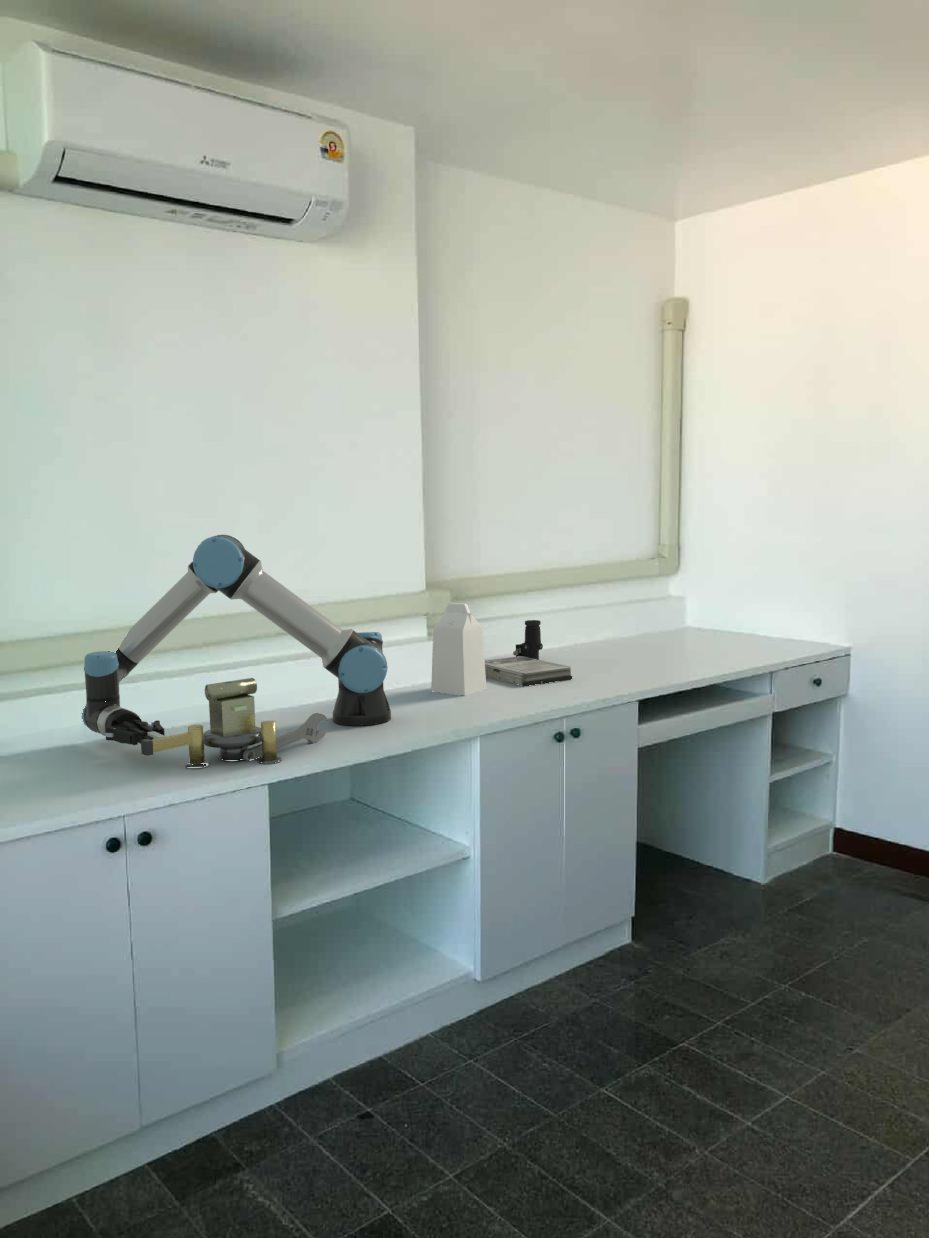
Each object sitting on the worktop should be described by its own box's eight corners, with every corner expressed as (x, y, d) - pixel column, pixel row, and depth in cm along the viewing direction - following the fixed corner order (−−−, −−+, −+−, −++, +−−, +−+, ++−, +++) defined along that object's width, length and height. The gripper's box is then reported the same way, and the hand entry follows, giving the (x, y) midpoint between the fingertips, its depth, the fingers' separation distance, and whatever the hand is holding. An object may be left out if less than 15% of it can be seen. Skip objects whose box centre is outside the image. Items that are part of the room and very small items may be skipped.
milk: (486, 689, 302) (485, 602, 298) (464, 695, 292) (463, 606, 289) (453, 685, 308) (451, 600, 305) (431, 691, 299) (429, 604, 296)
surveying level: (239, 744, 240) (236, 671, 238) (286, 760, 225) (282, 682, 222) (165, 759, 228) (161, 682, 226) (208, 777, 212) (204, 695, 210)
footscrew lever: (199, 759, 224) (197, 724, 223) (207, 761, 222) (205, 726, 221) (141, 772, 214) (139, 735, 213) (149, 775, 212) (147, 738, 211)
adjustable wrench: (246, 752, 224) (241, 751, 225) (252, 778, 225) (246, 777, 226) (325, 710, 242) (320, 709, 243) (330, 735, 244) (324, 734, 245)
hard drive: (524, 688, 304) (524, 673, 304) (474, 675, 327) (474, 661, 326) (572, 681, 314) (572, 666, 314) (520, 669, 337) (520, 655, 336)
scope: (526, 618, 355) (549, 620, 349) (526, 657, 357) (549, 660, 350) (511, 621, 349) (534, 623, 343) (512, 660, 351) (534, 663, 344)
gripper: (148, 735, 239) (192, 754, 221) (93, 745, 231) (134, 765, 213) (146, 704, 238) (191, 721, 220) (91, 713, 230) (133, 730, 212)
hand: (163, 743), depth 217 cm, fingers closed
